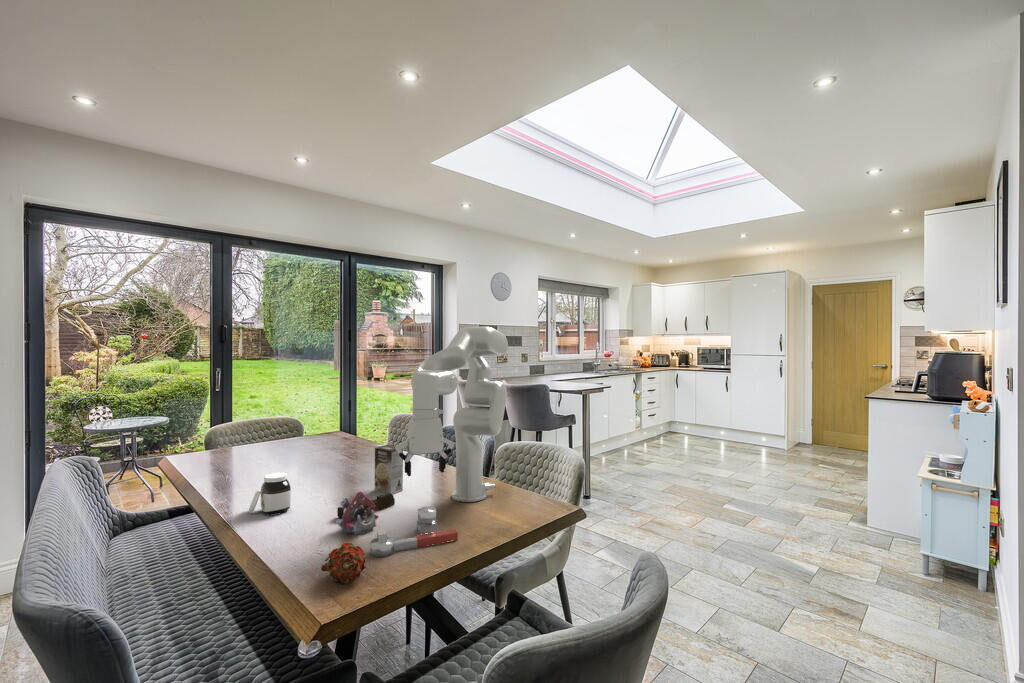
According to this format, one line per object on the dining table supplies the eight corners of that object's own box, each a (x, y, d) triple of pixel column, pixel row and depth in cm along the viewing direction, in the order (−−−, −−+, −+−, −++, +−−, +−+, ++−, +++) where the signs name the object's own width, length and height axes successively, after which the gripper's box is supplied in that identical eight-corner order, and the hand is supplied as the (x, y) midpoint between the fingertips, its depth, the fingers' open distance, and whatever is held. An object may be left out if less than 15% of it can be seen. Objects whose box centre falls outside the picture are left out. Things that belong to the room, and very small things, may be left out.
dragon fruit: (355, 598, 98) (332, 586, 107) (382, 563, 104) (358, 554, 112) (330, 573, 96) (308, 562, 104) (359, 539, 101) (336, 531, 109)
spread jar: (294, 511, 146) (294, 475, 146) (255, 521, 138) (256, 483, 138) (280, 503, 154) (280, 469, 154) (243, 512, 146) (243, 475, 146)
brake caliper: (357, 532, 123) (341, 492, 128) (337, 549, 128) (323, 510, 132) (390, 519, 133) (374, 483, 137) (370, 535, 138) (355, 499, 142)
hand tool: (341, 522, 138) (341, 507, 138) (336, 518, 141) (336, 503, 141) (398, 508, 150) (398, 494, 150) (392, 505, 153) (392, 491, 153)
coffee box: (373, 490, 167) (373, 447, 167) (386, 486, 173) (386, 444, 173) (390, 495, 162) (390, 450, 163) (403, 490, 168) (404, 447, 168)
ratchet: (453, 534, 128) (453, 516, 128) (459, 542, 123) (459, 524, 123) (368, 549, 118) (368, 530, 119) (371, 559, 113) (371, 539, 113)
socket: (433, 525, 134) (433, 505, 135) (438, 532, 130) (438, 511, 130) (416, 528, 132) (416, 508, 132) (420, 535, 128) (420, 513, 128)
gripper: (450, 411, 139) (450, 467, 138) (393, 414, 132) (392, 473, 131) (457, 414, 132) (457, 473, 131) (397, 417, 125) (397, 480, 124)
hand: (425, 473), depth 131 cm, fingers open, 9 cm apart
